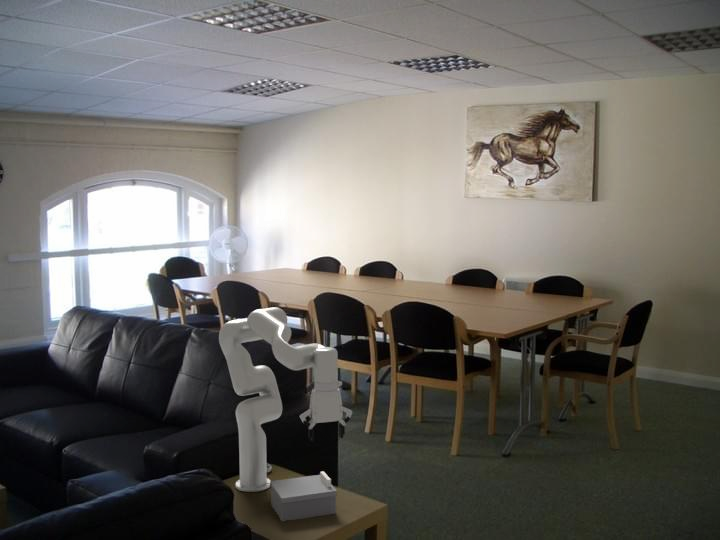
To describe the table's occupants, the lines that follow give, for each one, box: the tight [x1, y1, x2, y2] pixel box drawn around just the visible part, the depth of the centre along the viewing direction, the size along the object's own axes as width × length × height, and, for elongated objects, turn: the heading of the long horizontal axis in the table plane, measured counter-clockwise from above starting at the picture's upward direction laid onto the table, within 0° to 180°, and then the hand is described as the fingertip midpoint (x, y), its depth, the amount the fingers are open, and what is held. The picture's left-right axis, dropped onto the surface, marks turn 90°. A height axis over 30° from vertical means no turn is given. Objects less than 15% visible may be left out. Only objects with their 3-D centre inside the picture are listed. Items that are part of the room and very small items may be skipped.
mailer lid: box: [270, 470, 338, 503], centre depth 246 cm, size 16×18×4 cm
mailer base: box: [270, 485, 337, 522], centre depth 247 cm, size 14×18×7 cm
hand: (326, 438), depth 240 cm, fingers open, 9 cm apart
